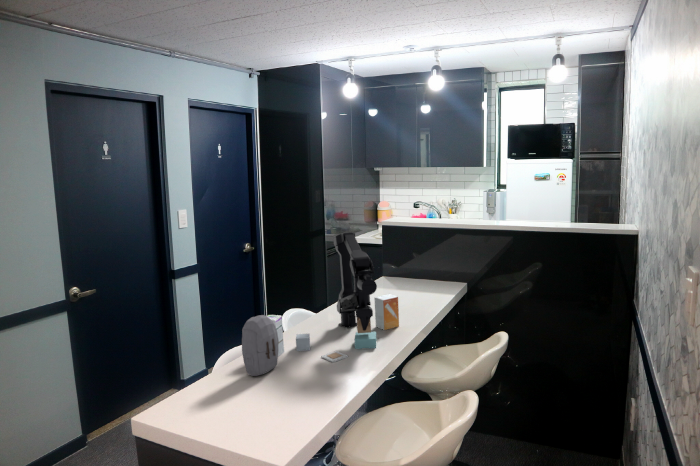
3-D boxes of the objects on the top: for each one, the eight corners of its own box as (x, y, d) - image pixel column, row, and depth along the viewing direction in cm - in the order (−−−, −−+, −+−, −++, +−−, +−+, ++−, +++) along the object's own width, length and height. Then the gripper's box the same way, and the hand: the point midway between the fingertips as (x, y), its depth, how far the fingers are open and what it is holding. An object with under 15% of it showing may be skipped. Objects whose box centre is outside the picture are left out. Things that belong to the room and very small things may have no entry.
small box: (384, 330, 211) (383, 300, 209) (375, 327, 216) (373, 297, 215) (399, 326, 216) (398, 296, 214) (390, 322, 221) (389, 293, 219)
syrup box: (284, 351, 194) (282, 314, 192) (277, 357, 188) (274, 319, 186) (271, 350, 196) (268, 314, 194) (264, 356, 190) (261, 318, 188)
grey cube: (297, 346, 199) (296, 334, 198) (310, 345, 199) (309, 333, 198) (296, 351, 194) (295, 338, 193) (309, 350, 194) (309, 337, 193)
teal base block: (356, 342, 201) (355, 332, 200) (376, 341, 200) (376, 331, 200) (355, 349, 193) (354, 339, 192) (376, 349, 192) (375, 338, 192)
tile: (321, 357, 186) (321, 355, 186) (336, 352, 190) (336, 350, 190) (332, 362, 181) (332, 360, 181) (348, 357, 185) (348, 355, 185)
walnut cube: (357, 329, 198) (356, 316, 198) (370, 328, 199) (369, 315, 198) (357, 333, 194) (357, 320, 193) (371, 332, 194) (370, 319, 193)
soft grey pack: (268, 362, 184) (264, 308, 182) (287, 365, 180) (283, 310, 177) (240, 378, 172) (234, 321, 169) (259, 382, 167) (254, 323, 165)
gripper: (340, 283, 203) (342, 321, 205) (341, 296, 184) (343, 337, 186) (368, 282, 203) (370, 320, 205) (372, 294, 185) (374, 335, 187)
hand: (363, 328), depth 196 cm, fingers closed on walnut cube, 5 cm apart
